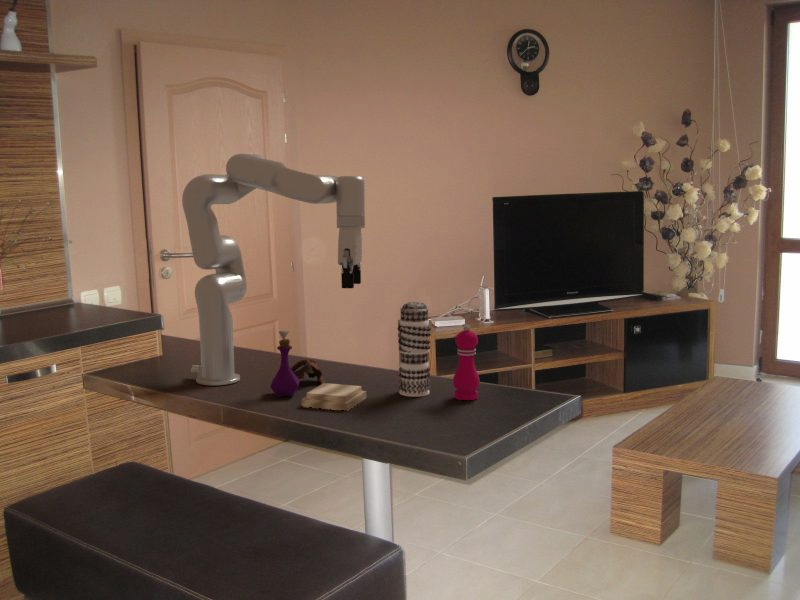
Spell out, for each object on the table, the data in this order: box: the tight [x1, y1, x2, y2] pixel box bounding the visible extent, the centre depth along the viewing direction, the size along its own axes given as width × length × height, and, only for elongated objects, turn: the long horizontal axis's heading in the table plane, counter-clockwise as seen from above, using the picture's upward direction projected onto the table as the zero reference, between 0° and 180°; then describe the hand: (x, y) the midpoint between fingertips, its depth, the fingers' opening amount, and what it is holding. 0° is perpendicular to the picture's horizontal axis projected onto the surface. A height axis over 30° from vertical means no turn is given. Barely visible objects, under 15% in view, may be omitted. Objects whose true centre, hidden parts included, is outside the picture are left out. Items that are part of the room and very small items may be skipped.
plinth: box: [301, 382, 367, 412], centre depth 205 cm, size 13×13×4 cm
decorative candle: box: [397, 301, 432, 398], centre depth 213 cm, size 9×9×25 cm
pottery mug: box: [290, 358, 325, 385], centre depth 226 cm, size 12×10×8 cm
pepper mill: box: [452, 324, 481, 402], centre depth 208 cm, size 7×7×20 cm
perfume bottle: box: [270, 330, 300, 397], centre depth 212 cm, size 8×8×18 cm
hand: (351, 285), depth 210 cm, fingers open, 9 cm apart
